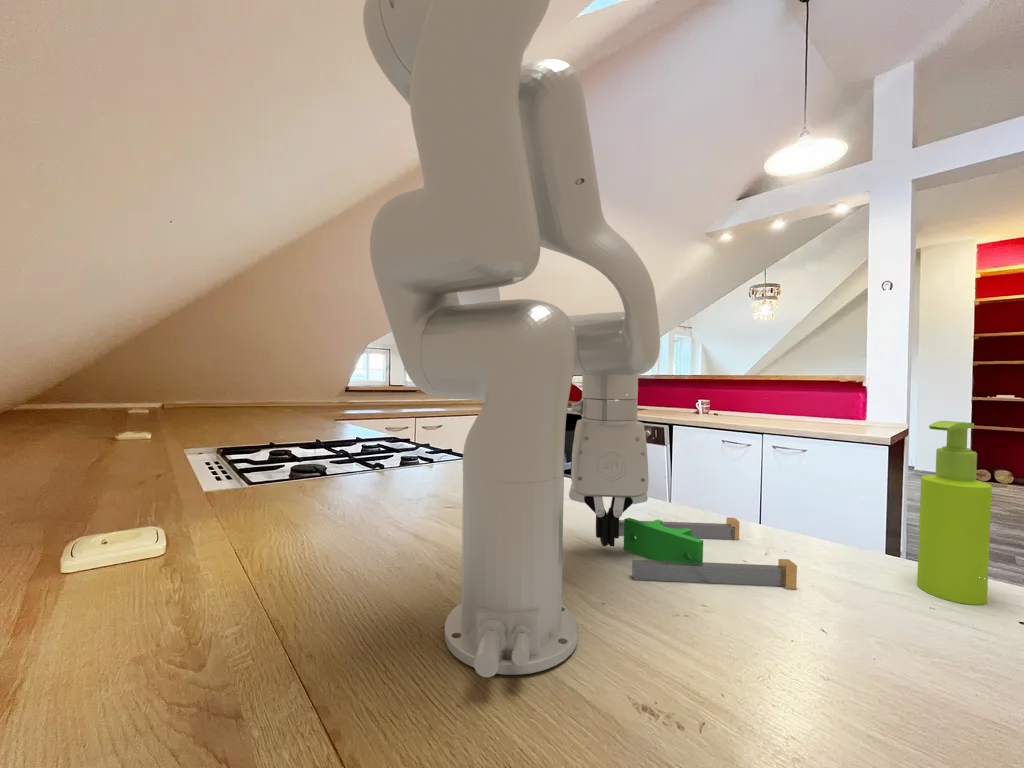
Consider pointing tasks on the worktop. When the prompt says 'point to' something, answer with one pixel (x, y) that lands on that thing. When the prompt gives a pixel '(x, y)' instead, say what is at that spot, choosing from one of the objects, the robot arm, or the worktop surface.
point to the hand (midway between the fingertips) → (606, 542)
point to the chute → (714, 572)
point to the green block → (661, 541)
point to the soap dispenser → (954, 523)
